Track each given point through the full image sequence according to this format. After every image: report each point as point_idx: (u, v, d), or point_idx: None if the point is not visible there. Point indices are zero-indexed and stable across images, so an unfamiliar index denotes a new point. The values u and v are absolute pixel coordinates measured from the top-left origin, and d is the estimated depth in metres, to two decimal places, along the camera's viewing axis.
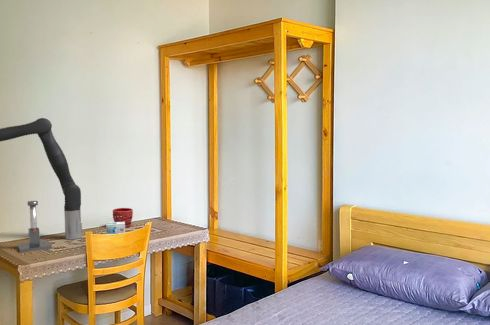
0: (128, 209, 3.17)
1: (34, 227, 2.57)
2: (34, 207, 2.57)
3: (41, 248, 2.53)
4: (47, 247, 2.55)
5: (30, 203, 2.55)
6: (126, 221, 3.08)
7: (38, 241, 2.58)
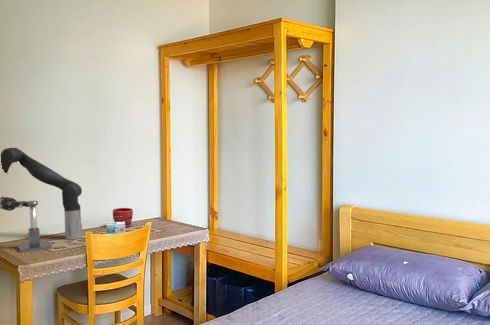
0: (128, 209, 3.17)
1: (34, 227, 2.57)
2: (34, 207, 2.57)
3: (41, 248, 2.53)
4: (47, 247, 2.55)
5: (30, 203, 2.55)
6: (126, 221, 3.08)
7: (38, 241, 2.58)
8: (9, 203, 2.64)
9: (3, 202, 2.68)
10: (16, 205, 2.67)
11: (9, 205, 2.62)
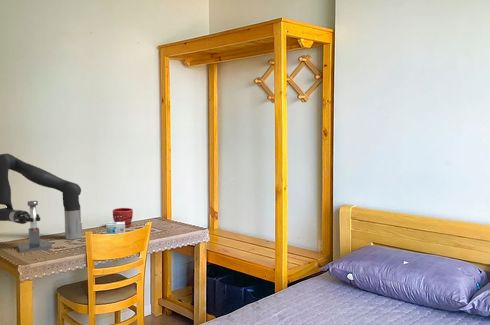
0: (128, 209, 3.17)
1: (34, 227, 2.57)
2: (34, 207, 2.57)
3: (41, 248, 2.53)
4: (47, 247, 2.55)
5: (30, 203, 2.55)
6: (126, 221, 3.08)
7: (38, 241, 2.58)
8: (26, 216, 2.58)
9: (16, 215, 2.61)
10: None
11: (27, 218, 2.56)
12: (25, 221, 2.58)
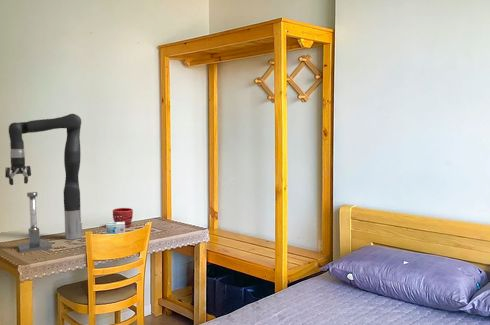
0: (128, 209, 3.17)
1: (34, 218, 2.57)
2: (34, 198, 2.56)
3: (41, 248, 2.53)
4: (47, 247, 2.55)
5: (30, 194, 2.54)
6: (126, 221, 3.08)
7: (38, 241, 2.58)
8: (13, 174, 2.67)
9: (13, 162, 2.67)
10: (18, 173, 2.71)
11: (10, 178, 2.66)
12: (10, 173, 2.68)
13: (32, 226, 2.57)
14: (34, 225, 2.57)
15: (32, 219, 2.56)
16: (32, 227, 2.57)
